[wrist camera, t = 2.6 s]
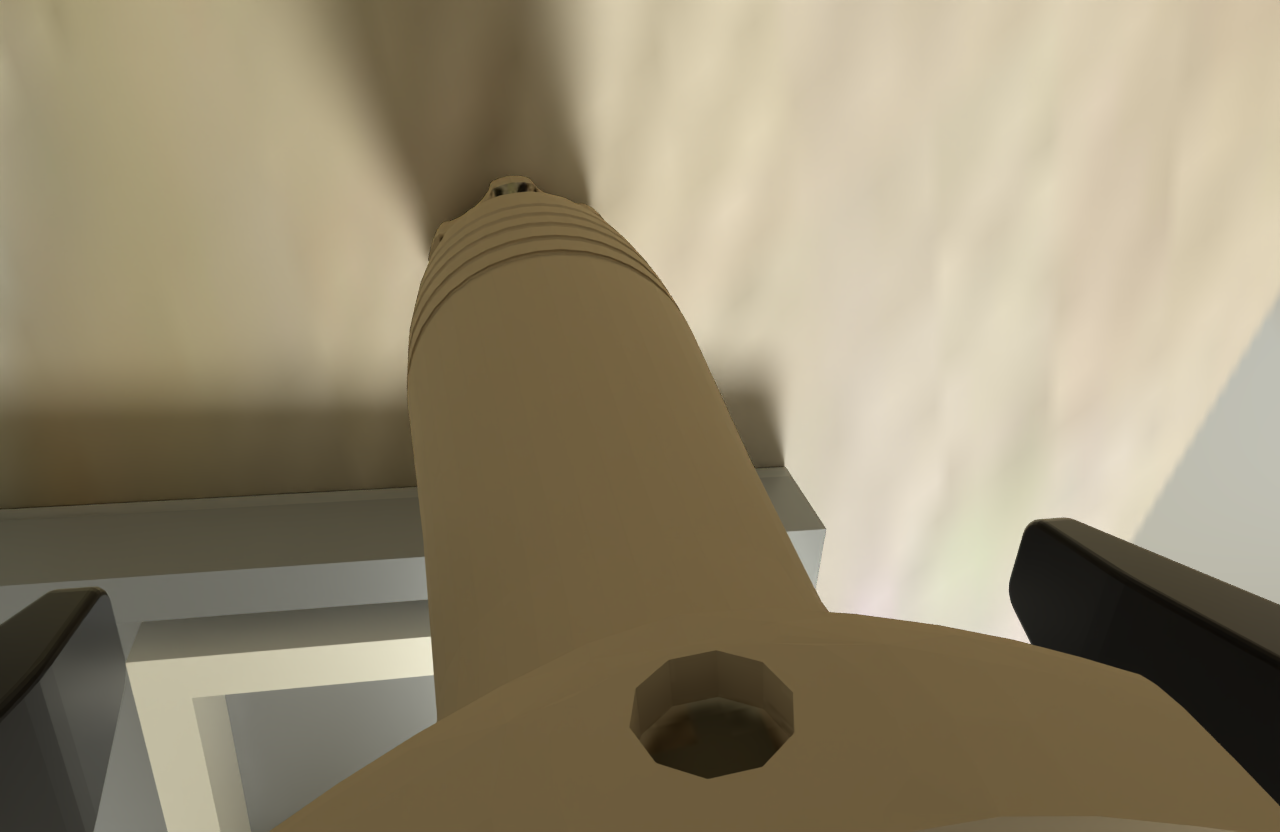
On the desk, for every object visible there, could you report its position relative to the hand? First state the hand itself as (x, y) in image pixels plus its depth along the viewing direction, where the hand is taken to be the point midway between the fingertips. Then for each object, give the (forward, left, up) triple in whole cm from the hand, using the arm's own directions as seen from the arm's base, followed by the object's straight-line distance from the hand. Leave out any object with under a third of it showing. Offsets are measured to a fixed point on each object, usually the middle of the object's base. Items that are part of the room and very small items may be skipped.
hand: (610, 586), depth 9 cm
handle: (0, 0, -10) cm, 10 cm away
